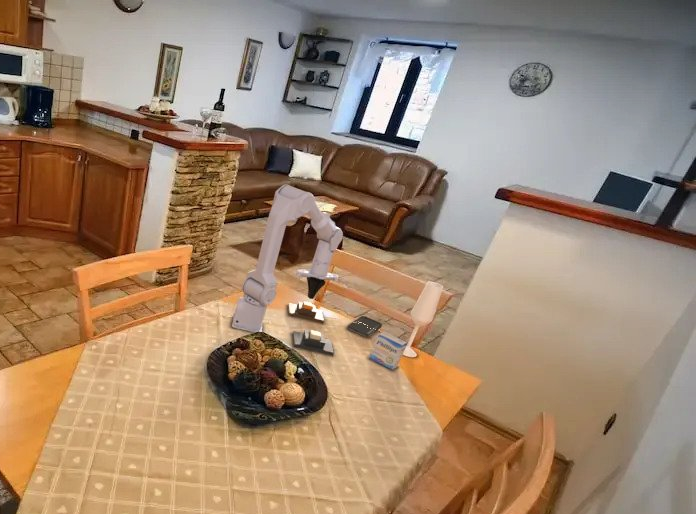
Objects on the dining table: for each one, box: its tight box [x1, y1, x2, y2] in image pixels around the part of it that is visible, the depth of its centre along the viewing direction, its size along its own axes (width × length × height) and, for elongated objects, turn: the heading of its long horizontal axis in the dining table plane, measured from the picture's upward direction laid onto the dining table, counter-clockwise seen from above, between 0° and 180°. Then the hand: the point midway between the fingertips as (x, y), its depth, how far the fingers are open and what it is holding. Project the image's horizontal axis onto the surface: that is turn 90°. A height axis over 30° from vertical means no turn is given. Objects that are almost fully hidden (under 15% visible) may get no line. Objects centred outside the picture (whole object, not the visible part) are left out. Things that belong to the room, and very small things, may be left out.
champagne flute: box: [402, 280, 444, 358], centre depth 158 cm, size 7×7×24 cm
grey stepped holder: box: [292, 329, 335, 357], centre depth 155 cm, size 12×9×3 cm
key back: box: [302, 300, 314, 310], centre depth 174 cm, size 3×3×2 cm
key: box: [309, 329, 322, 340], centre depth 154 cm, size 3×3×2 cm
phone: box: [346, 315, 383, 338], centre depth 175 cm, size 8×1×15 cm
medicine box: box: [368, 331, 408, 371], centre depth 152 cm, size 8×4×9 cm, turn 47°
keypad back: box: [287, 301, 325, 324], centre depth 175 cm, size 12×9×3 cm
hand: (310, 297), depth 173 cm, fingers closed
